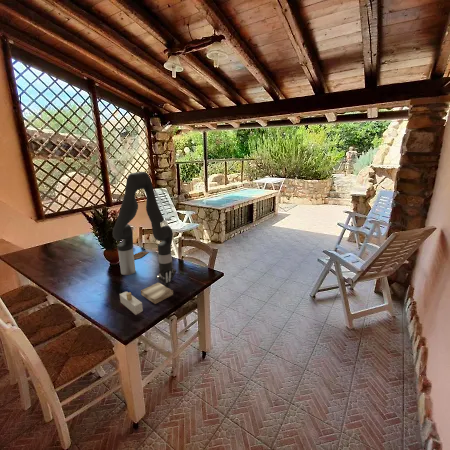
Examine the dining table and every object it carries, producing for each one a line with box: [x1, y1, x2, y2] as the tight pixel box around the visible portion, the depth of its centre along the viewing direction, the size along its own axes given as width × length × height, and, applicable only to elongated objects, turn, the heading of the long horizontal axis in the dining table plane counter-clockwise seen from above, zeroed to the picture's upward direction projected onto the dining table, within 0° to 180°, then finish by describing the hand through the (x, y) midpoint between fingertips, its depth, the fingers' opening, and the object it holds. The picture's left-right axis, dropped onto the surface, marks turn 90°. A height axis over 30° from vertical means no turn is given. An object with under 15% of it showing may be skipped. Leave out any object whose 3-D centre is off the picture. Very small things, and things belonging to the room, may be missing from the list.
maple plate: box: [140, 282, 174, 305], centre depth 143 cm, size 14×12×3 cm
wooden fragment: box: [134, 251, 149, 260], centre depth 193 cm, size 26×11×1 cm, turn 140°
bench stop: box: [119, 291, 144, 316], centre depth 131 cm, size 16×4×8 cm, turn 48°
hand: (167, 287), depth 148 cm, fingers closed
